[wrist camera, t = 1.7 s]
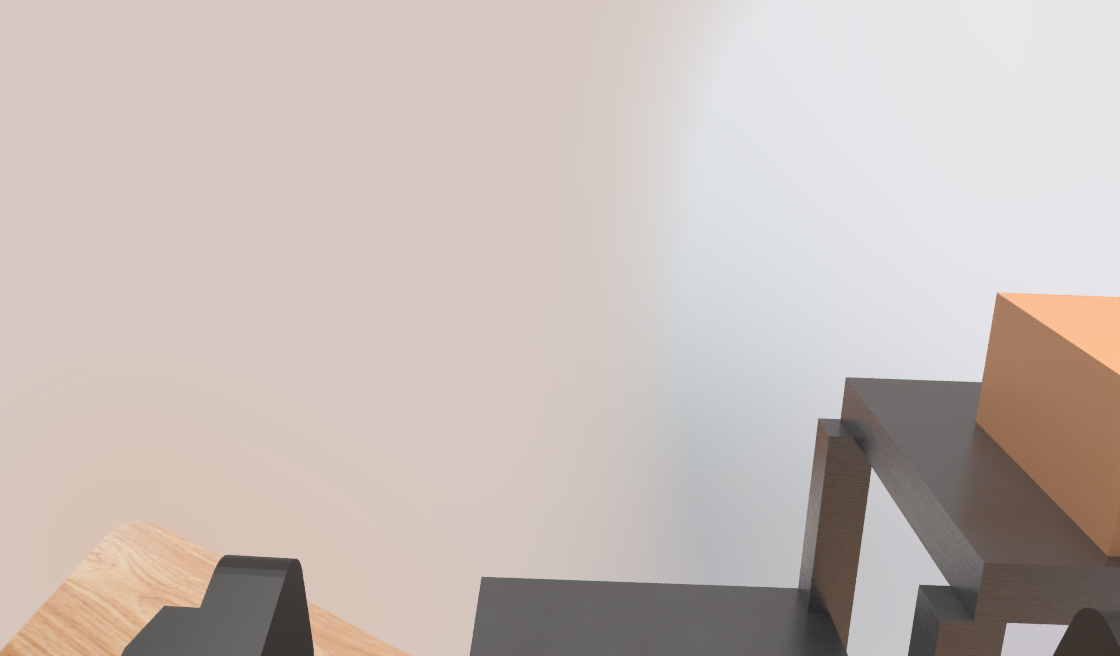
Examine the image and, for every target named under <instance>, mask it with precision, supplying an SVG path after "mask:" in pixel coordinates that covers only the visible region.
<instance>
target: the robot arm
mask: <svg viewBox="0 0 1120 656" xmlns="http://www.w3.org/2000/svg"><path fill="white" fill-rule="evenodd" d="M121 656H314V649H313V641H312V634H311V627H310V621H309V614H308V607H307V600H306V594H305V587H304V580H303V574H302V568H301V564H300V562H299V560H297V559H289V558H272V557H255V556H238V555H237V556H236V555H225V556H224V557H222V558H221V560H220V561H219V562H218V564H217V566H216V568H215V570H214V573H213V575H212V578H211V581H210V583H209V586H208V588H207V591H206V594H205V596H204V599H203V601H202V604H201V607H200V608H191V607H174V606H164V607H163V608H162V609H161V610H160V611H159V612H158V613H157V614H156V615H155V617H154V618H153V619H152V620H151V621H150V622H149V623H148V624H147V625H146V626H145V627H144V628H143V629H142V630H141V631H140V632H139V634H138V635H137V636H136V637H135V638H134V639H133V640H132V641H131V642H130V643H129V644H128V645H127V646H126V647H125V648H124V651H123V653H122V655H121ZM1053 656H1120V609H1107V608H1090V607H1088V608H1083V609H1081V610H1079V611H1078V612H1077V613H1076V615H1075V616H1074V618H1073V619H1072V621H1071V623H1070V625H1069V627H1068V629H1067V631H1066V632H1065V634H1064V636H1063V638H1062V640H1061V642H1060V643H1059V645H1058V647H1057V649H1056V651H1055V653H1054V655H1053Z"/></svg>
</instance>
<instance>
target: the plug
mask: <svg viewBox="0 0 1120 656" xmlns="http://www.w3.org/2000/svg"><path fill="white" fill-rule="evenodd" d="M976 422H977V423H978V424H979V425H980V426H981V427H982V428H983V429H984V430H985V431H986V432H987V433H988V434H989V435H990V436H991V437H992V438H993V439H994V440H995V441H996V443H997V444H998V445H999V446H1000V447H1001V448H1002V449H1003V450H1004V451H1005V452H1006V453H1007V454H1008V455H1009V456H1010V457H1011V458H1012V459H1013V460H1014V461H1015V462H1016V463H1017V464H1018V465H1019V466H1020V467H1021V468H1022V469H1023V470H1024V471H1025V472H1026V473H1027V474H1028V475H1029V476H1030V477H1031V478H1032V479H1033V480H1034V481H1035V482H1036V483H1037V484H1038V485H1039V486H1040V487H1041V488H1042V489H1043V491H1044V492H1045V493H1046V494H1047V495H1048V496H1049V497H1050V498H1051V499H1052V500H1053V501H1054V502H1055V503H1056V504H1057V505H1058V506H1059V507H1060V508H1061V509H1062V510H1063V511H1064V512H1065V513H1066V514H1067V515H1068V516H1069V517H1070V518H1071V519H1072V520H1073V521H1074V522H1075V523H1076V524H1077V525H1078V526H1079V527H1080V528H1081V529H1082V530H1083V531H1084V532H1085V533H1086V534H1087V535H1088V536H1089V537H1090V539H1091V540H1092V541H1093V542H1094V543H1095V544H1096V545H1097V546H1098V547H1099V548H1100V549H1101V550H1102V551H1103V552H1104V553H1105V554H1106V555H1107V556H1114V557H1120V297H1099V296H1072V295H1070V296H1069V295H1046V294H1019V293H997V296H996V302H995V308H994V314H993V320H992V327H991V333H990V338H989V344H988V350H987V356H986V362H985V368H984V374H983V380H982V386H981V392H980V398H979V404H978V410H977V416H976Z"/></svg>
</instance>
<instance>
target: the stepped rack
mask: <svg viewBox="0 0 1120 656" xmlns="http://www.w3.org/2000/svg"><path fill="white" fill-rule="evenodd" d="M981 386H982V382H981V383H980V382H979V383H978V382H954V381H952V382H951V381H927V380H900V379H899V380H897V379H873V378H846V381H845V389H844V397H843V406H842V413H841V419H818V427H817V435H816V444H815V452H814V461H813V469H812V477H811V486H810V494H809V502H808V511H807V519H806V528H805V536H804V546H803V554H802V562H801V570H800V579H799V587H798V588H773V587H771V588H770V587H745V586H717V585H689V584H688V585H687V584H661V583H660V584H659V583H634V582H607V581H579V580H551V579H549V580H548V579H524V578H523V579H522V578H496V577H495V578H494V577H482V579H481V585H480V592H479V598H478V605H477V612H476V618H475V625H474V631H473V638H472V644H471V651H470V656H848V655H847V652H846V648H847V642H848V635H849V627H850V620H851V612H852V606H853V598H854V591H855V584H856V577H857V569H858V562H859V555H860V547H861V540H862V533H863V526H864V518H865V511H866V504H867V496H868V489H869V482H870V474H871V467H872V468H873V469H874V471H875V472H876V473H877V475H878V477H879V478H880V480H881V481H882V483H883V484H884V486H885V487H886V489H887V490H888V492H889V493H890V495H891V497H892V498H893V500H894V501H895V503H896V504H897V506H898V507H899V509H900V510H901V512H902V513H903V515H904V516H905V518H906V519H907V521H908V522H909V524H910V525H911V527H912V528H913V530H914V532H915V533H916V535H917V536H918V537H919V539H920V541H921V542H922V544H923V545H924V547H925V548H926V550H927V551H928V553H929V554H930V556H931V557H932V559H933V560H934V562H935V563H936V565H937V567H938V568H939V570H940V571H941V573H942V574H943V576H944V577H945V579H946V580H947V582H948V583H949V585H950V586H935V585H934V586H933V585H919V589H918V596H917V602H916V608H915V615H914V621H913V627H912V634H911V640H910V647H909V653H908V656H1001V650H1002V645H1003V640H1004V634H1005V629H1006V624H1007V623H1029V624H1057V625H1070V623H1071V621H1072V619H1073V618H1074V616H1075V615H1076V613H1077V612H1078V611H1079V610H1081V609H1083V608H1088V607H1090V608H1107V609H1120V557H1114V556H1107V555H1106V554H1105V553H1104V552H1103V551H1102V550H1101V549H1100V548H1099V547H1098V546H1097V545H1096V544H1095V543H1094V542H1093V541H1092V540H1091V539H1090V537H1089V536H1088V535H1087V534H1086V533H1085V532H1084V531H1083V530H1082V529H1081V528H1080V527H1079V526H1078V525H1077V524H1076V523H1075V522H1074V521H1073V520H1072V519H1071V518H1070V517H1069V516H1068V515H1067V514H1066V513H1065V512H1064V511H1063V510H1062V509H1061V508H1060V507H1059V506H1058V505H1057V504H1056V503H1055V502H1054V501H1053V500H1052V499H1051V498H1050V497H1049V496H1048V495H1047V494H1046V493H1045V492H1044V491H1043V489H1042V488H1041V487H1040V486H1039V485H1038V484H1037V483H1036V482H1035V481H1034V480H1033V479H1032V478H1031V477H1030V476H1029V475H1028V474H1027V473H1026V472H1025V471H1024V470H1023V469H1022V468H1021V467H1020V466H1019V465H1018V464H1017V463H1016V462H1015V461H1014V460H1013V459H1012V458H1011V457H1010V456H1009V455H1008V454H1007V453H1006V452H1005V451H1004V450H1003V449H1002V448H1001V447H1000V446H999V445H998V444H997V443H996V441H995V440H994V439H993V438H992V437H991V436H990V435H989V434H988V433H987V432H986V431H985V430H984V429H983V428H982V427H981V426H980V425H979V424H978V423H977V422H976V416H977V410H978V404H979V398H980V392H981Z"/></svg>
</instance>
